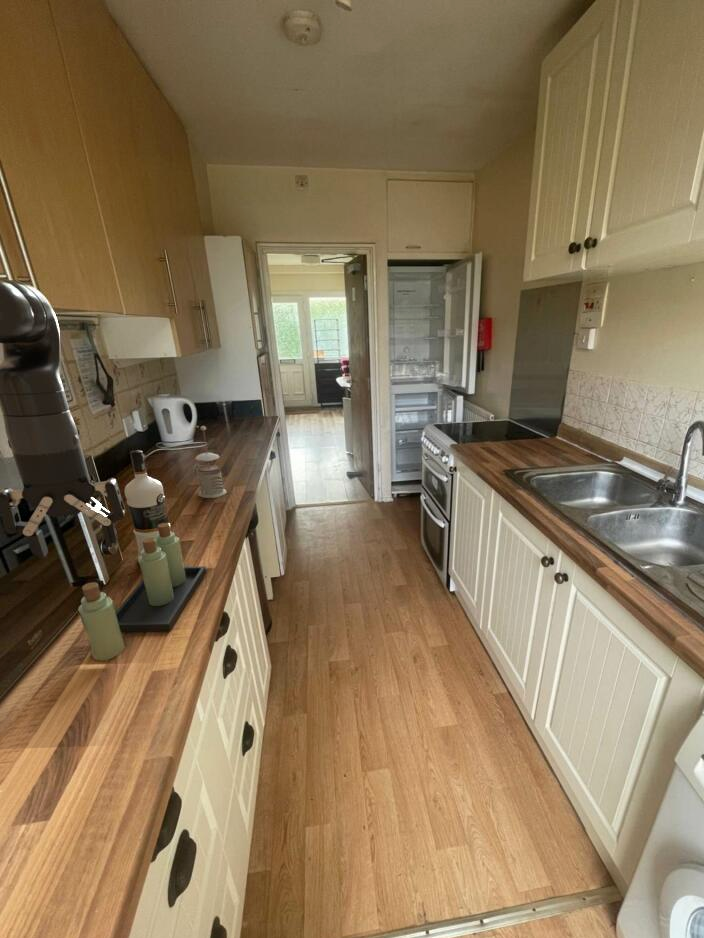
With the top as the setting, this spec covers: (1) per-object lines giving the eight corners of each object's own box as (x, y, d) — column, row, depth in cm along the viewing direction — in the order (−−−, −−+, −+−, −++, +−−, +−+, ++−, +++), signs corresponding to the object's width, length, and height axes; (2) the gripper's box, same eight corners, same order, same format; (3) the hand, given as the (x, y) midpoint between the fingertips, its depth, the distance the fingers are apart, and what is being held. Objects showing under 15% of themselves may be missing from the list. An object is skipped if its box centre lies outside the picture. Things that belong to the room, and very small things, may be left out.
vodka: (157, 551, 118) (134, 444, 106) (186, 556, 115) (166, 447, 104) (130, 567, 109) (103, 453, 97) (161, 573, 107) (137, 457, 95)
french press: (232, 491, 161) (224, 425, 151) (208, 501, 151) (198, 431, 141) (212, 486, 165) (203, 422, 155) (188, 496, 155) (176, 428, 145)
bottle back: (158, 587, 100) (146, 529, 95) (167, 575, 105) (156, 520, 99) (181, 586, 101) (170, 529, 95) (189, 575, 106) (179, 520, 100)
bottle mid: (144, 606, 94) (129, 545, 88) (154, 592, 98) (141, 534, 92) (168, 605, 94) (156, 545, 88) (177, 592, 99) (166, 534, 93)
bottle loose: (87, 662, 79) (65, 594, 73) (102, 643, 83) (83, 578, 77) (116, 662, 79) (97, 594, 73) (130, 643, 84) (113, 577, 78)
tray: (106, 635, 86) (103, 625, 85) (154, 575, 106) (153, 566, 105) (170, 633, 86) (168, 624, 86) (206, 574, 107) (205, 566, 106)
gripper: (111, 435, 64) (133, 532, 70) (-10, 442, 58) (27, 547, 65) (103, 447, 57) (129, 553, 64) (-32, 457, 52) (10, 571, 58)
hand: (77, 550), depth 64 cm, fingers open, 8 cm apart
